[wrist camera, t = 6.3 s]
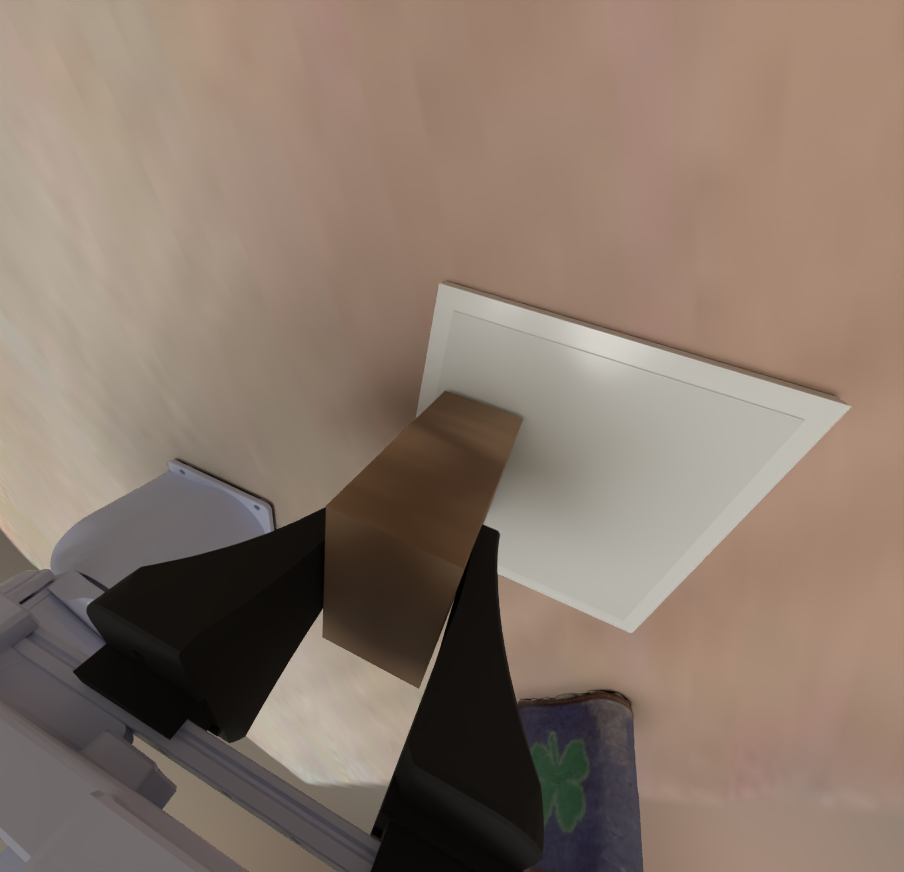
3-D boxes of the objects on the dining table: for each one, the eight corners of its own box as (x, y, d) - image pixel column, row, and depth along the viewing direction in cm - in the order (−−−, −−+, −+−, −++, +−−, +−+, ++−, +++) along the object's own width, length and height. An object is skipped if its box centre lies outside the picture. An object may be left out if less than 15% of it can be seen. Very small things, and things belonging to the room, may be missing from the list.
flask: (617, 686, 22) (630, 980, 13) (645, 714, 23) (676, 1018, 14) (509, 698, 27) (468, 916, 19) (533, 721, 28) (505, 945, 19)
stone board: (402, 519, 22) (395, 529, 21) (446, 281, 14) (438, 283, 13) (630, 619, 19) (631, 635, 18) (836, 396, 11) (854, 408, 11)
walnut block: (421, 493, 18) (322, 636, 11) (444, 390, 15) (325, 506, 8) (485, 520, 17) (419, 688, 11) (523, 418, 14) (463, 568, 8)
